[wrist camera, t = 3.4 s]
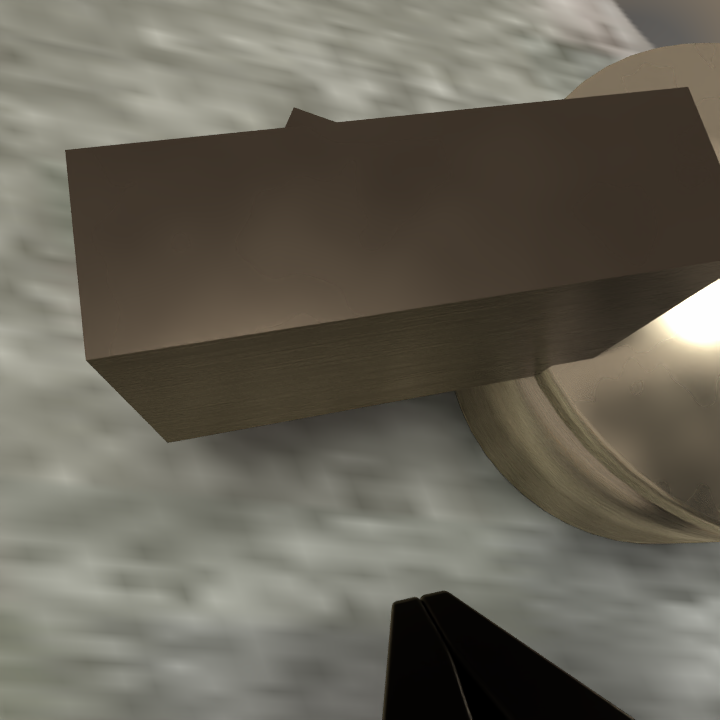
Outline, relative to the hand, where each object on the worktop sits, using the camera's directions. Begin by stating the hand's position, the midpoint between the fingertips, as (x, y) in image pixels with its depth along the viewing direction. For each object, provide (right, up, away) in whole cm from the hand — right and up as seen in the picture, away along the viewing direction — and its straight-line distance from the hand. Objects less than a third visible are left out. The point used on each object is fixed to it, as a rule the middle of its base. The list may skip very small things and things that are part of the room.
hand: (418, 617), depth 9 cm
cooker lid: (+5, +5, +7) cm, 10 cm away
